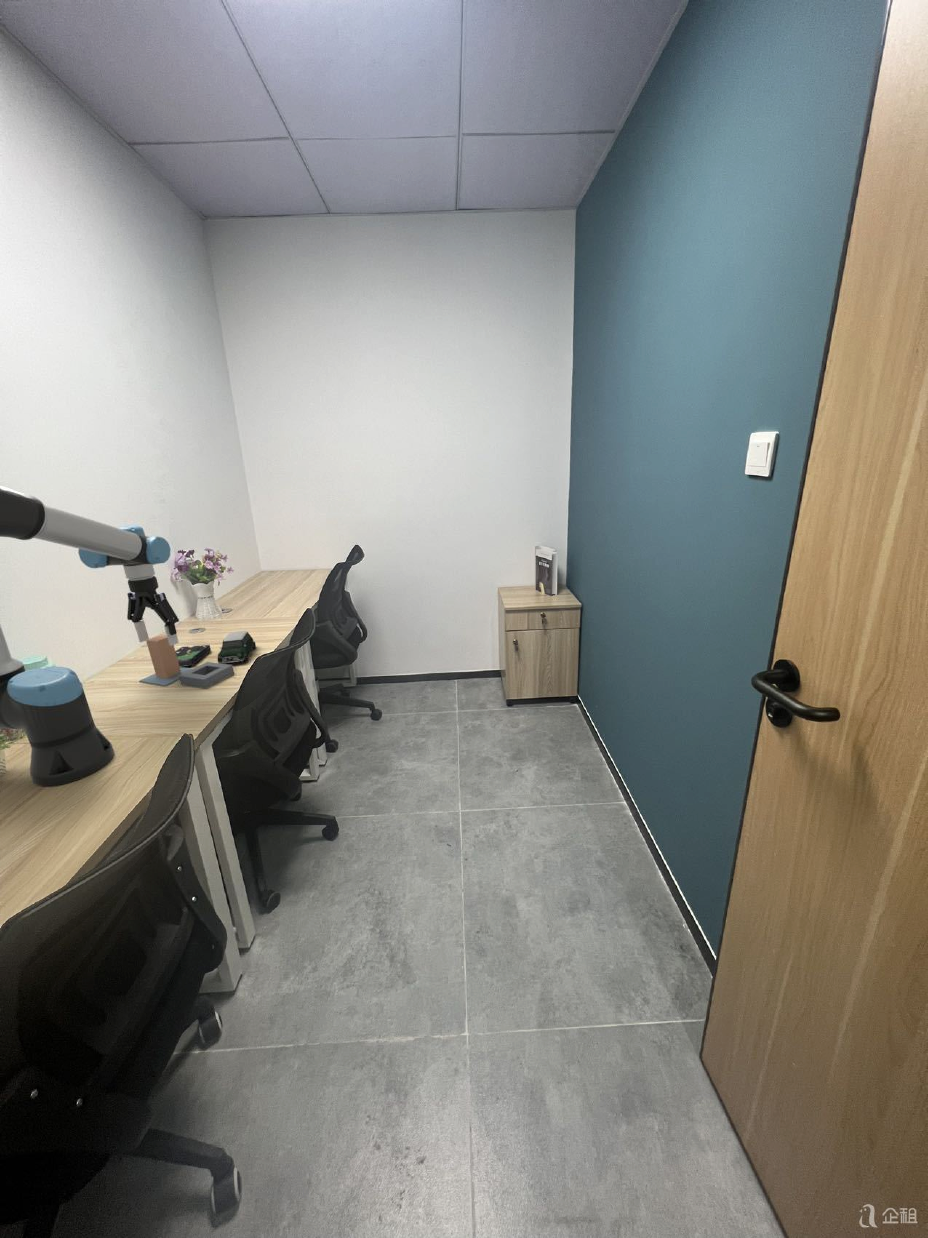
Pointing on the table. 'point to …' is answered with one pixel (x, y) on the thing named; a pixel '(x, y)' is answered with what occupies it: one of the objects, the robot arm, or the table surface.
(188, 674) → the pocket holder
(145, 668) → the table surface
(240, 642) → the miniature car
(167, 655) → the terracotta block
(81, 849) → the table surface
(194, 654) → the disk drive
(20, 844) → the table surface
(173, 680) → the rubber mat
